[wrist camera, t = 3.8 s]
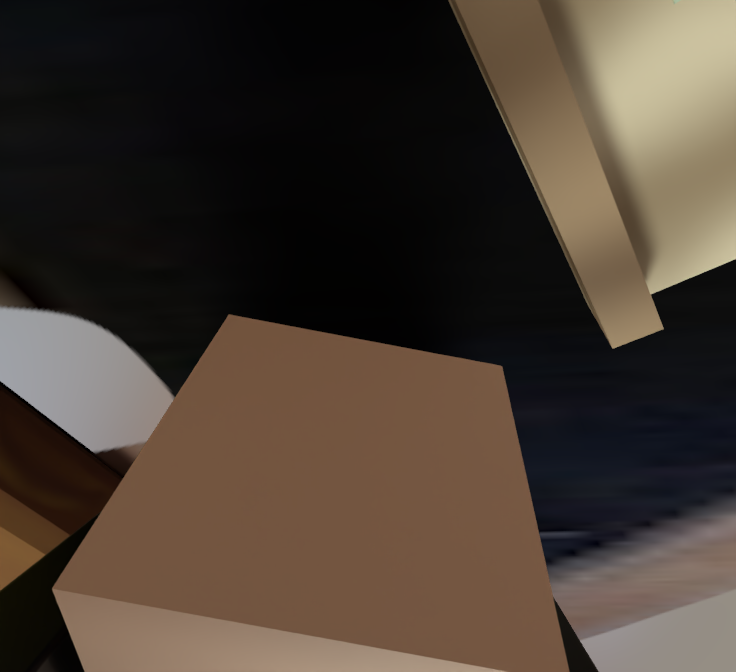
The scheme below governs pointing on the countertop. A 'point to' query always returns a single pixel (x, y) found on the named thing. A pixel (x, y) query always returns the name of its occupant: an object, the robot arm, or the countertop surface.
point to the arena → (620, 136)
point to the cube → (319, 521)
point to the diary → (43, 485)
